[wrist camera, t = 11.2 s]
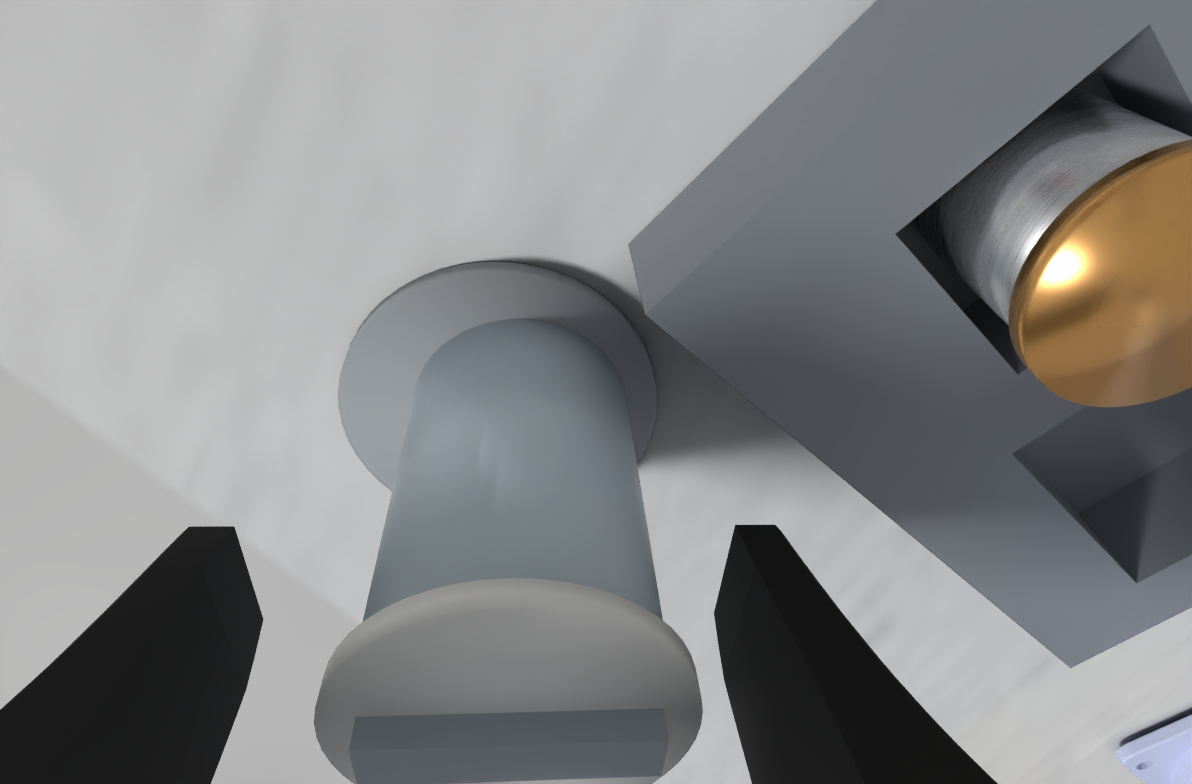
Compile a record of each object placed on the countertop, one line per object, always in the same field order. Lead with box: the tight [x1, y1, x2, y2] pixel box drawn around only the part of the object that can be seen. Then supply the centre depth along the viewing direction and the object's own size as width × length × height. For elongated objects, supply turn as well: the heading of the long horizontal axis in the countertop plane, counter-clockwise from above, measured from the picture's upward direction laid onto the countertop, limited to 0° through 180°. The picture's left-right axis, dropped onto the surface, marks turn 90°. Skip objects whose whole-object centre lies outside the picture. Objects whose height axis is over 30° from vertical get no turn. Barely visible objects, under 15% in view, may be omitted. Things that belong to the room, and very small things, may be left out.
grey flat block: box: [628, 0, 1192, 668], centre depth 13 cm, size 14×10×2 cm
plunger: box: [918, 87, 1192, 407], centre depth 10 cm, size 3×3×4 cm
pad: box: [338, 262, 658, 491], centre depth 14 cm, size 6×6×1 cm
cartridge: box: [314, 319, 703, 784], centre depth 11 cm, size 5×5×7 cm
